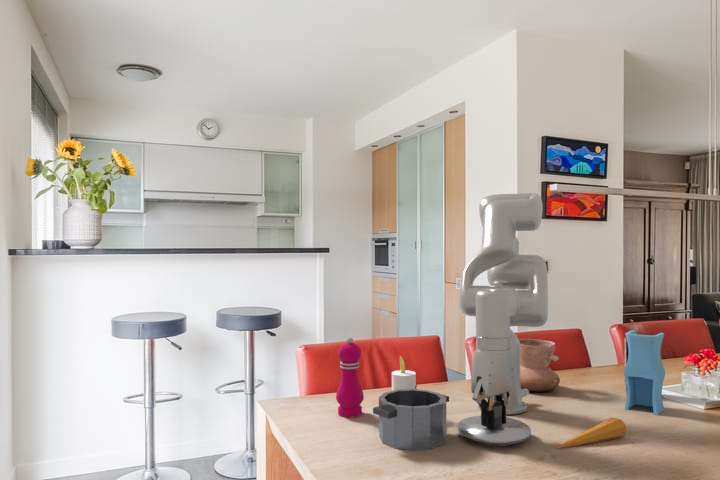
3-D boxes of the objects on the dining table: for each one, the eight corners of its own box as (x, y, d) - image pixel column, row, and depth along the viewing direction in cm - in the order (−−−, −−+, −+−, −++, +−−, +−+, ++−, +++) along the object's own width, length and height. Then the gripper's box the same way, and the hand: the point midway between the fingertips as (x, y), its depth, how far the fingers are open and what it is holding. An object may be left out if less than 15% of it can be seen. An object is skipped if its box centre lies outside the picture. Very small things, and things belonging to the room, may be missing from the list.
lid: (485, 421, 132) (484, 391, 132) (544, 438, 120) (544, 405, 120) (443, 437, 121) (443, 404, 122) (504, 457, 110) (504, 420, 110)
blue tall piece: (665, 408, 141) (664, 332, 142) (657, 415, 136) (656, 336, 136) (633, 402, 147) (632, 330, 147) (624, 409, 141) (623, 333, 141)
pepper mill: (360, 418, 135) (360, 339, 135) (333, 417, 136) (332, 339, 136) (366, 410, 142) (365, 335, 142) (339, 408, 143) (339, 334, 143)
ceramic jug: (573, 391, 159) (573, 343, 159) (540, 398, 151) (540, 348, 151) (526, 378, 174) (526, 335, 174) (494, 384, 167) (494, 339, 167)
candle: (415, 417, 135) (415, 358, 135) (390, 416, 137) (389, 357, 137) (418, 410, 141) (417, 353, 142) (393, 409, 143) (393, 352, 143)
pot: (419, 420, 133) (418, 384, 133) (465, 436, 122) (465, 396, 122) (359, 438, 121) (358, 398, 121) (404, 458, 109) (404, 414, 109)
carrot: (618, 436, 123) (610, 416, 124) (633, 435, 119) (624, 414, 121) (552, 460, 115) (544, 438, 116) (566, 459, 111) (558, 436, 113)
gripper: (501, 337, 129) (501, 413, 129) (456, 346, 119) (457, 428, 118) (528, 341, 123) (529, 421, 123) (483, 350, 113) (484, 437, 113)
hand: (493, 423), depth 121 cm, fingers closed on lid, 3 cm apart
